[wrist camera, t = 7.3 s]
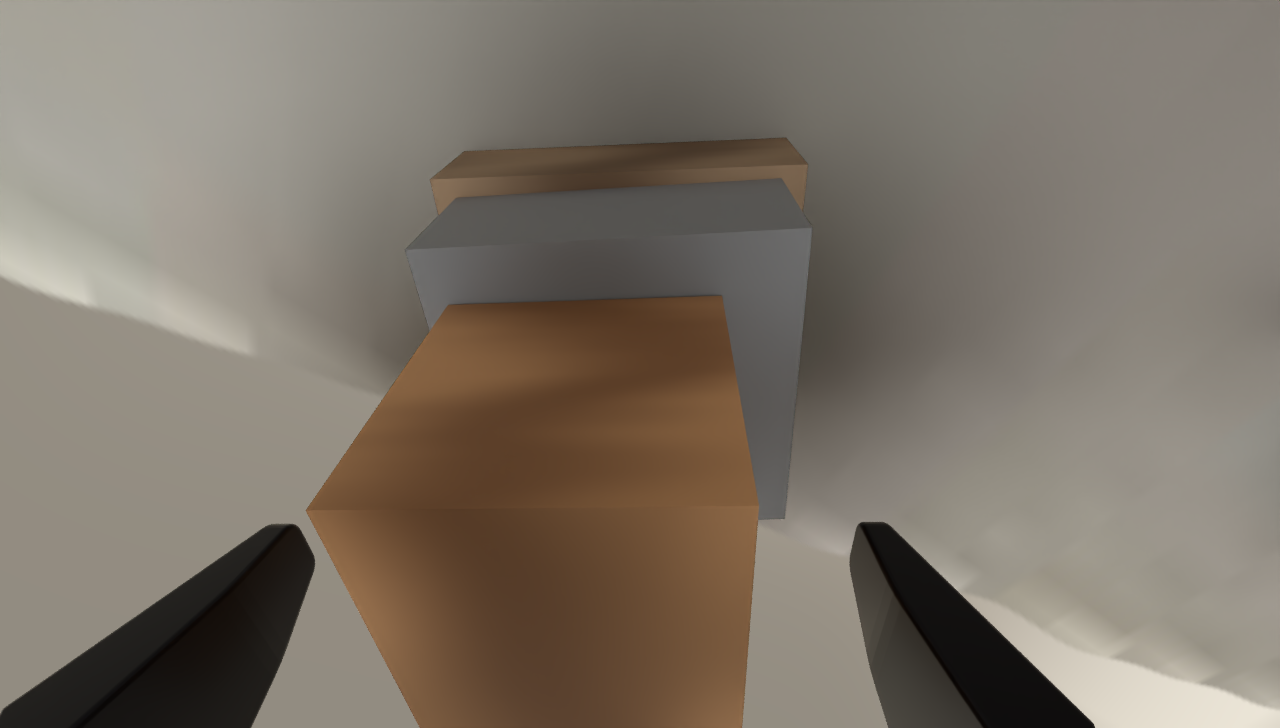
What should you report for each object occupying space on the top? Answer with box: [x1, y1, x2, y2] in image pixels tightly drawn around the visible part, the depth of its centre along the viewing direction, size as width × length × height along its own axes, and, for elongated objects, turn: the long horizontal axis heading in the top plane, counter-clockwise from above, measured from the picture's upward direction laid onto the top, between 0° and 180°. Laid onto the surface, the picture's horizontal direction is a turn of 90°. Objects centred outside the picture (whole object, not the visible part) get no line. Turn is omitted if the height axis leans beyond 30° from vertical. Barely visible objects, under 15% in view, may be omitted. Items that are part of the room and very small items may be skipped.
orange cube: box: [306, 296, 759, 728], centre depth 10 cm, size 5×5×5 cm
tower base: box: [430, 138, 808, 215], centre depth 16 cm, size 8×8×3 cm
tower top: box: [405, 178, 812, 520], centre depth 13 cm, size 7×7×3 cm
